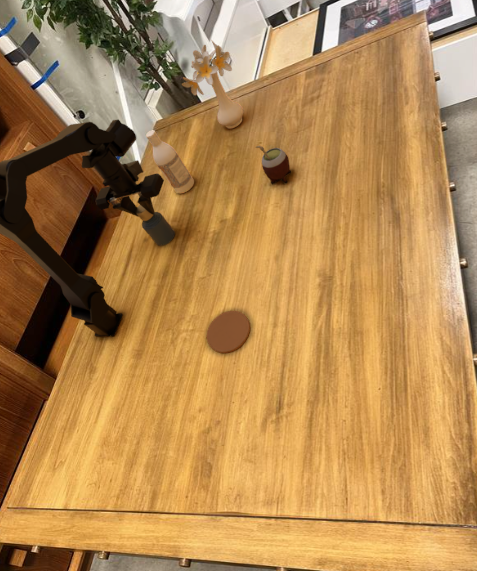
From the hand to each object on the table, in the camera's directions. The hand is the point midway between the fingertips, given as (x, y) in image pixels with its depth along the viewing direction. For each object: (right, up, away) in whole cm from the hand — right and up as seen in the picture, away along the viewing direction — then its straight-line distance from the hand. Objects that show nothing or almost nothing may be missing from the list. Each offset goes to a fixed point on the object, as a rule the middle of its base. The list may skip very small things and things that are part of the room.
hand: (147, 214), depth 106 cm
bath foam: (+8, +12, +18) cm, 23 cm away
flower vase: (+23, +36, +28) cm, 51 cm away
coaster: (+23, -29, -21) cm, 43 cm away
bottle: (+4, -5, +7) cm, 9 cm away
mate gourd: (+37, +10, +1) cm, 38 cm away
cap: (0, 0, 0) cm, 0 cm away
